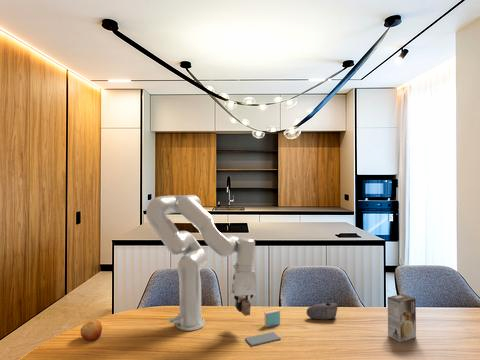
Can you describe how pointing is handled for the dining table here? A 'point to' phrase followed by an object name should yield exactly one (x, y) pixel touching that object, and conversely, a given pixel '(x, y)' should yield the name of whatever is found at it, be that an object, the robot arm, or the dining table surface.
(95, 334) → the fruit
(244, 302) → the brown rectangular pillar
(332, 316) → the perforated stone tool
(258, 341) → the mat
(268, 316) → the tile
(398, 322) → the coffee box
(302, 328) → the dining table surface
